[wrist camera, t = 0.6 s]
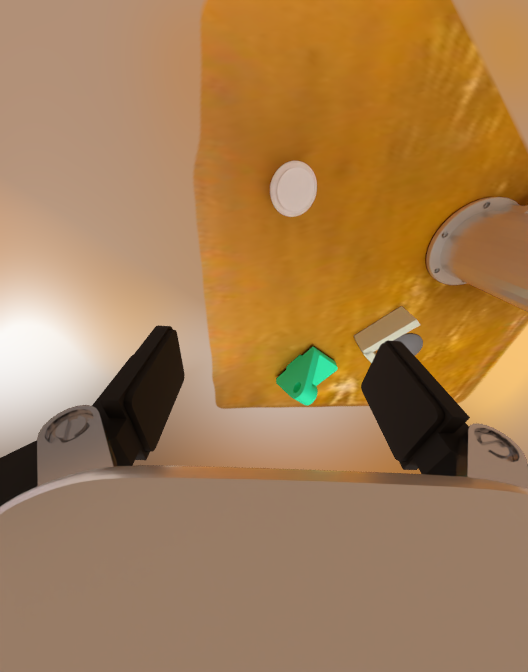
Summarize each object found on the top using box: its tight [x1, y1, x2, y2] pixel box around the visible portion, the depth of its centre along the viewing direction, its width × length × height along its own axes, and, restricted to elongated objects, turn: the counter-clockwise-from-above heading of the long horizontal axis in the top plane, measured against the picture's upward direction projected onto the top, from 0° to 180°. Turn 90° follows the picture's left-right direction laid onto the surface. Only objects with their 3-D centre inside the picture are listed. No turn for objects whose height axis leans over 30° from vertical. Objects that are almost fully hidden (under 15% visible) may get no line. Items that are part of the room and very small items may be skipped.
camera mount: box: [276, 347, 338, 405], centre depth 45 cm, size 12×8×10 cm, turn 142°
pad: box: [393, 333, 423, 356], centre depth 45 cm, size 7×7×1 cm
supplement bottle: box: [270, 161, 317, 217], centre depth 26 cm, size 5×5×10 cm
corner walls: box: [354, 306, 420, 363], centre depth 43 cm, size 10×17×5 cm, turn 44°
